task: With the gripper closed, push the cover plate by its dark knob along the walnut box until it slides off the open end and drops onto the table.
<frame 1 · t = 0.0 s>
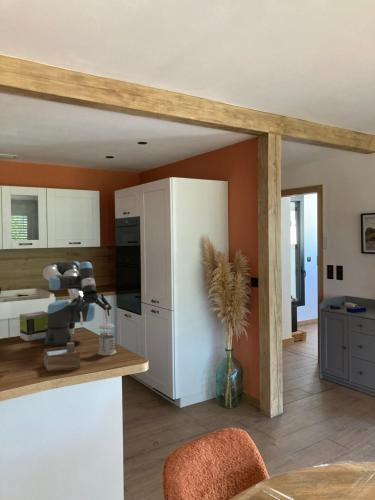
hand: (95, 323, 216), 15 cm above the table, tool tilted 35°, fingers open, 13 cm apart
cover plate: (61, 356, 192), point 5 cm above the table, touching lid box
french press: (106, 353, 215), on the table
coffee cup: (67, 334, 256), on the table
tea box: (35, 338, 247), on the table
lid box: (61, 366, 192), on the table
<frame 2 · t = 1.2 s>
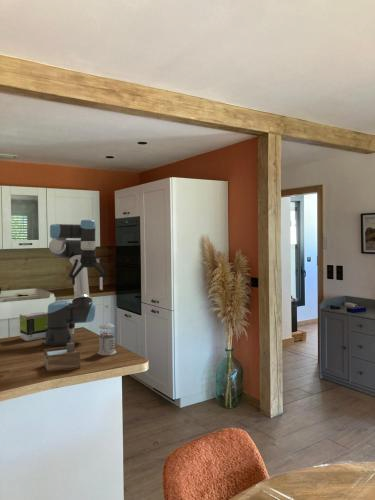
hand: (88, 290, 215), 33 cm above the table, tool pointing down, fingers open, 13 cm apart
nothing on the table moved.
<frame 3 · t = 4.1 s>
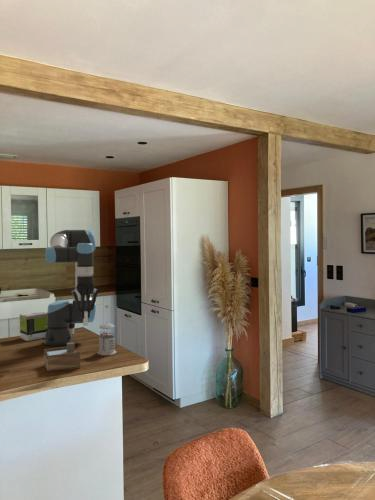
hand: (85, 325, 196), 18 cm above the table, tool pointing down, fingers closed
nothing on the table moved.
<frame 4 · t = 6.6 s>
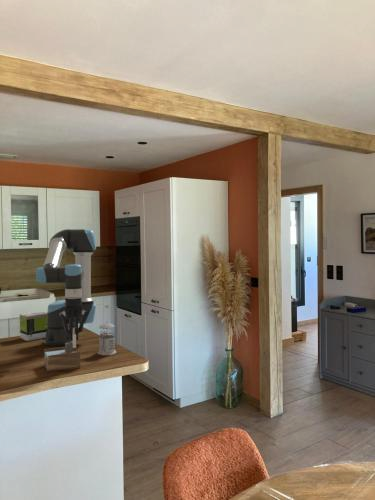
hand: (73, 347, 194), 8 cm above the table, tool pointing down, fingers closed
nothing on the table moved.
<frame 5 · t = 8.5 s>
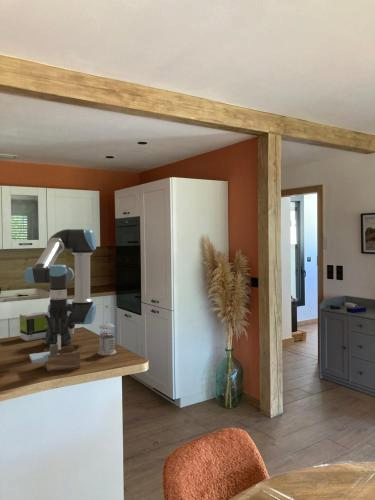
hand: (58, 349, 191), 8 cm above the table, tool pointing down, fingers closed
cover plate: (45, 358, 188), point 5 cm above the table, touching gripper, lid box
everything else where it was.
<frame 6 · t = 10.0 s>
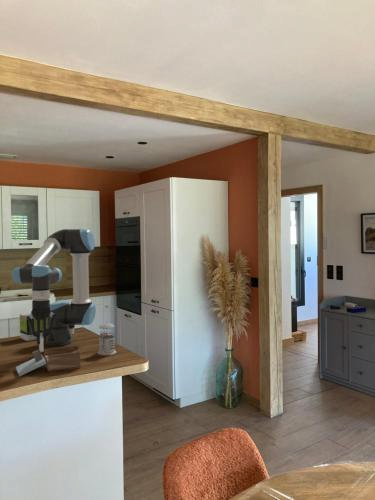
hand: (41, 351, 187), 8 cm above the table, tool pointing down, fingers closed
cover plate: (31, 366, 185), point 2 cm above the table, tilted 20°, touching gripper
everything else where it was.
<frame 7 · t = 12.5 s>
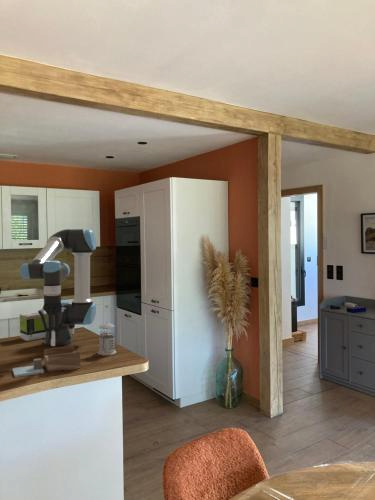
hand: (53, 345, 190), 10 cm above the table, tool pointing down, fingers closed
cover plate: (28, 372, 184), on the table
everything else where it was.
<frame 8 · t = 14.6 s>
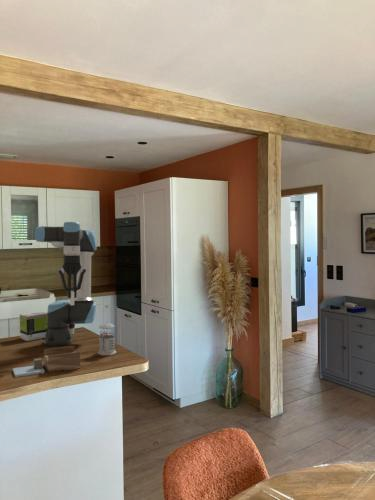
hand: (72, 304, 194), 28 cm above the table, tool pointing down, fingers closed
nothing on the table moved.
at the end: cover plate inside the target area (1.9 cm from its centre), on the table; cover plate moved 15.7 cm from its start; cover plate touching table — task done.
